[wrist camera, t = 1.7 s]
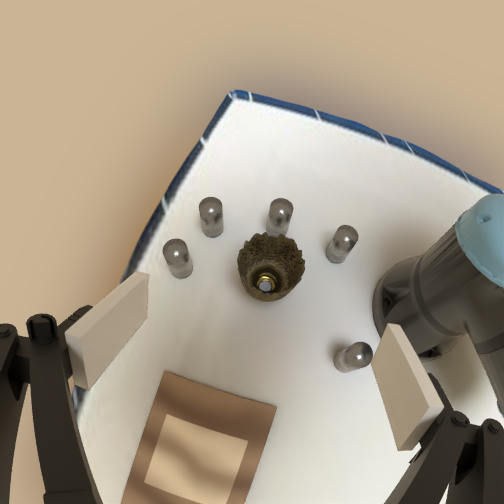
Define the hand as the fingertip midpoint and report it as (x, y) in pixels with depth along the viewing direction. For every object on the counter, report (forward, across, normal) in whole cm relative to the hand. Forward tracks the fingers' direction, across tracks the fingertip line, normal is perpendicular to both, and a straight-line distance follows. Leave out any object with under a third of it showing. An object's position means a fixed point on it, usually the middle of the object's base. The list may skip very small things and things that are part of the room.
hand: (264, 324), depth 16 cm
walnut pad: (+6, -4, -26) cm, 27 cm away
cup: (+24, 0, -8) cm, 25 cm away
